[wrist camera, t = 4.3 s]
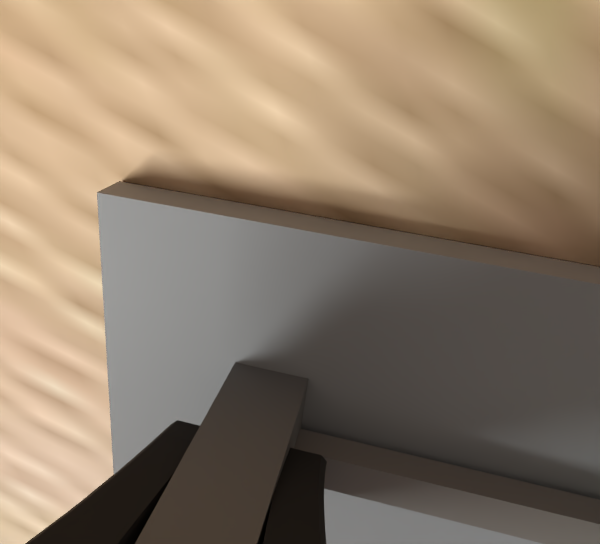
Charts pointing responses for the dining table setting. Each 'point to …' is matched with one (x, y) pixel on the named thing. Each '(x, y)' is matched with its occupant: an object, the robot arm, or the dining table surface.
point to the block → (335, 476)
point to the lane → (354, 343)
